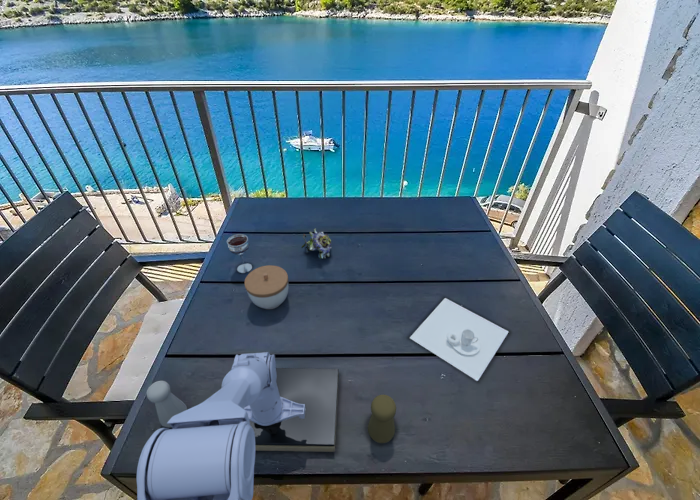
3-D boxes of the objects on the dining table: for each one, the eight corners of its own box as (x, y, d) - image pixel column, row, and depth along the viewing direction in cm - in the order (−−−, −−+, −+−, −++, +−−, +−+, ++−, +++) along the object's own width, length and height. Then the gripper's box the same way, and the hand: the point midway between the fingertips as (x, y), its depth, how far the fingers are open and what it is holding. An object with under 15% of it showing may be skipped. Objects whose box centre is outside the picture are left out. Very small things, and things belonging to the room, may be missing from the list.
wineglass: (243, 259, 123) (235, 232, 116) (258, 264, 121) (252, 237, 113) (230, 271, 118) (222, 243, 111) (246, 276, 116) (238, 248, 109)
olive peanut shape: (372, 446, 74) (373, 421, 67) (364, 418, 79) (365, 393, 72) (398, 439, 75) (403, 414, 68) (389, 412, 80) (393, 386, 73)
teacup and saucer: (442, 343, 95) (444, 333, 92) (456, 325, 99) (458, 316, 97) (472, 361, 90) (475, 352, 88) (485, 342, 95) (489, 332, 92)
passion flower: (327, 267, 128) (329, 259, 116) (298, 262, 127) (297, 253, 116) (332, 238, 131) (335, 228, 120) (304, 233, 130) (303, 222, 119)
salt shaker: (184, 432, 77) (163, 402, 69) (158, 431, 77) (135, 401, 69) (193, 406, 81) (175, 375, 73) (169, 406, 82) (149, 375, 73)
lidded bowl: (296, 308, 105) (292, 282, 98) (254, 321, 101) (246, 294, 94) (285, 281, 114) (281, 256, 107) (246, 292, 110) (239, 266, 103)
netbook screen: (334, 446, 72) (334, 444, 71) (209, 444, 72) (208, 442, 72) (338, 370, 86) (338, 368, 86) (234, 369, 87) (233, 367, 86)
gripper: (304, 378, 69) (310, 411, 77) (231, 377, 69) (245, 410, 77) (300, 413, 63) (306, 445, 72) (220, 412, 63) (236, 443, 72)
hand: (274, 429), depth 74 cm, fingers closed, pressing on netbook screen
